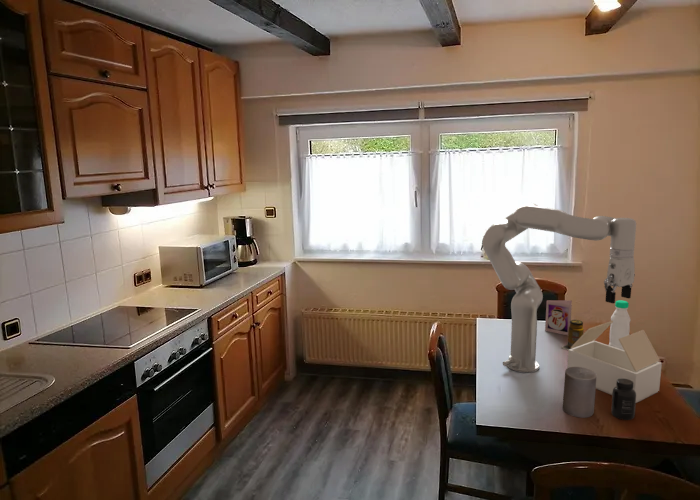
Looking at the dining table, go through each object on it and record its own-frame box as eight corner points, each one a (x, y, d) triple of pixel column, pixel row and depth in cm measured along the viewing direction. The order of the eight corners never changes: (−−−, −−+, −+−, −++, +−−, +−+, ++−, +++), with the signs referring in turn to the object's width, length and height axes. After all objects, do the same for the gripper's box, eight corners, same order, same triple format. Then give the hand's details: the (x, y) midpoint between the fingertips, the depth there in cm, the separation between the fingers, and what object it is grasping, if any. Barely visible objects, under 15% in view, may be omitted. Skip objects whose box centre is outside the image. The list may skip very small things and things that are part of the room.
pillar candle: (557, 404, 178) (559, 363, 175) (584, 402, 179) (587, 362, 176) (571, 419, 169) (574, 376, 166) (600, 417, 169) (603, 374, 166)
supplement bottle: (636, 414, 170) (640, 380, 168) (631, 423, 165) (634, 388, 163) (614, 408, 175) (617, 374, 172) (608, 416, 170) (610, 382, 167)
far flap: (589, 329, 188) (588, 328, 189) (571, 348, 196) (570, 347, 196) (613, 321, 196) (612, 320, 196) (595, 339, 203) (594, 338, 204)
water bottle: (608, 355, 217) (613, 297, 212) (627, 358, 213) (632, 300, 208) (606, 361, 211) (611, 302, 206) (626, 364, 208) (631, 305, 203)
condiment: (586, 347, 226) (587, 321, 224) (577, 353, 220) (579, 326, 218) (569, 343, 231) (571, 317, 229) (561, 348, 225) (562, 322, 223)
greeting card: (544, 331, 246) (545, 300, 243) (549, 326, 252) (551, 297, 249) (569, 336, 239) (571, 305, 236) (574, 331, 244) (576, 301, 241)
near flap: (634, 371, 176) (636, 370, 175) (618, 339, 179) (619, 338, 179) (658, 360, 183) (659, 360, 183) (642, 329, 187) (643, 329, 186)
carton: (633, 404, 177) (636, 374, 175) (566, 376, 198) (568, 349, 196) (658, 391, 185) (661, 362, 183) (592, 366, 207) (593, 340, 205)
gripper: (617, 258, 174) (614, 307, 178) (645, 251, 183) (641, 298, 187) (597, 254, 181) (593, 301, 184) (625, 248, 190) (621, 293, 193)
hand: (618, 299), depth 185 cm, fingers open, 9 cm apart
